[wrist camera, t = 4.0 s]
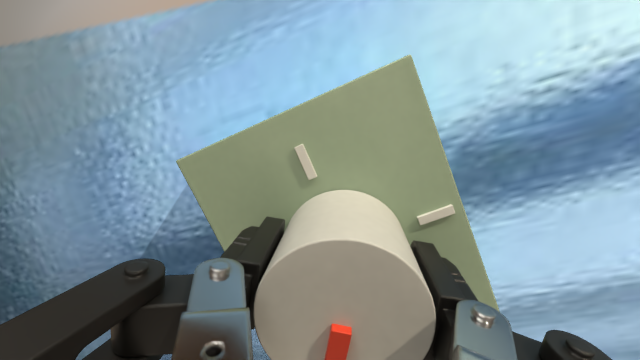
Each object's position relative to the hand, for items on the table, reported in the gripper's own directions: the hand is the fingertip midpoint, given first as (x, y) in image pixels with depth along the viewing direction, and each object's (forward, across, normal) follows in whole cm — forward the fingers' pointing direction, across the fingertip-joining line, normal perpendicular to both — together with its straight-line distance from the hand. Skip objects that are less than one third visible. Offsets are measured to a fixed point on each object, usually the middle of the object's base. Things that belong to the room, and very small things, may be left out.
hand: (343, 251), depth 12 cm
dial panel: (+4, 0, 0) cm, 4 cm away
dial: (+1, 0, 0) cm, 1 cm away
